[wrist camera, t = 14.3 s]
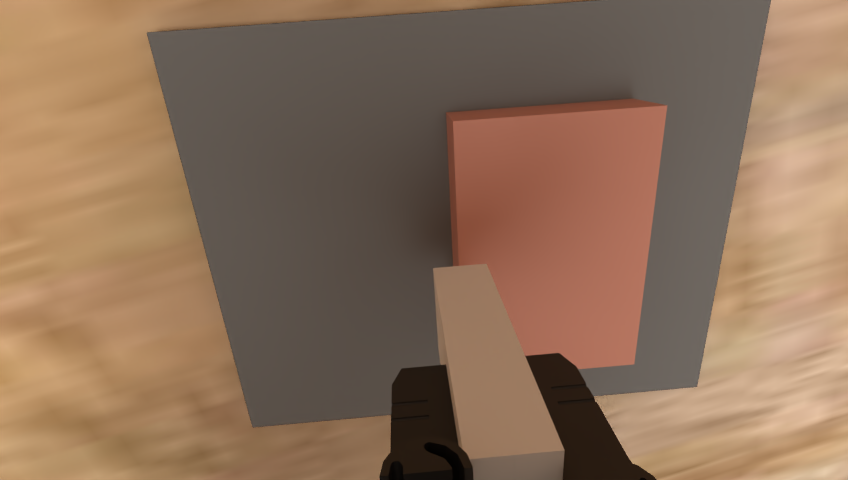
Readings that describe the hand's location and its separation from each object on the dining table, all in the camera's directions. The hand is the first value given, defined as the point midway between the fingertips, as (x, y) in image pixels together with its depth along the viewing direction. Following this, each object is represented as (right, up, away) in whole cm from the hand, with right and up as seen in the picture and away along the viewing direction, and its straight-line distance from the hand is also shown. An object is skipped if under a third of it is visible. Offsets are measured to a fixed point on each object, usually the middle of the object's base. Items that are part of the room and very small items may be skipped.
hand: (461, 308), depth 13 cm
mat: (+1, +2, +5) cm, 5 cm away
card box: (0, +1, +3) cm, 4 cm away
